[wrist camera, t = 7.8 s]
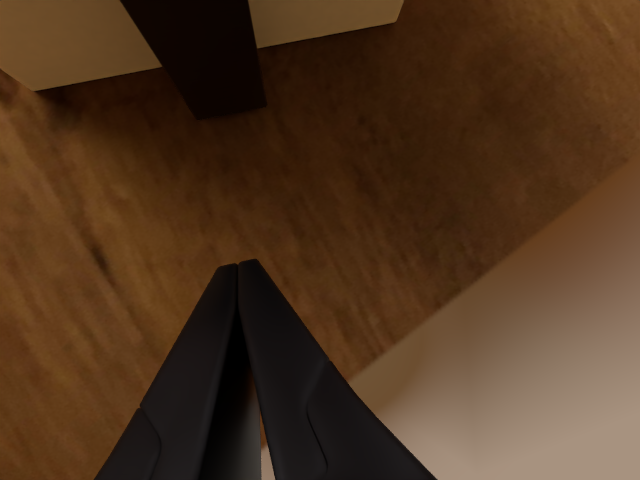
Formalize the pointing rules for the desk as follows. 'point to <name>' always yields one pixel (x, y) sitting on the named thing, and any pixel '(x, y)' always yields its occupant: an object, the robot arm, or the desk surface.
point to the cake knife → (204, 51)
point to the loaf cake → (130, 46)
